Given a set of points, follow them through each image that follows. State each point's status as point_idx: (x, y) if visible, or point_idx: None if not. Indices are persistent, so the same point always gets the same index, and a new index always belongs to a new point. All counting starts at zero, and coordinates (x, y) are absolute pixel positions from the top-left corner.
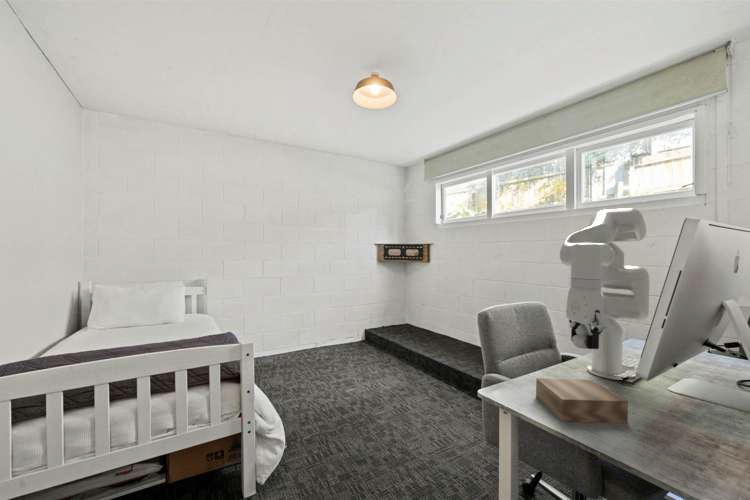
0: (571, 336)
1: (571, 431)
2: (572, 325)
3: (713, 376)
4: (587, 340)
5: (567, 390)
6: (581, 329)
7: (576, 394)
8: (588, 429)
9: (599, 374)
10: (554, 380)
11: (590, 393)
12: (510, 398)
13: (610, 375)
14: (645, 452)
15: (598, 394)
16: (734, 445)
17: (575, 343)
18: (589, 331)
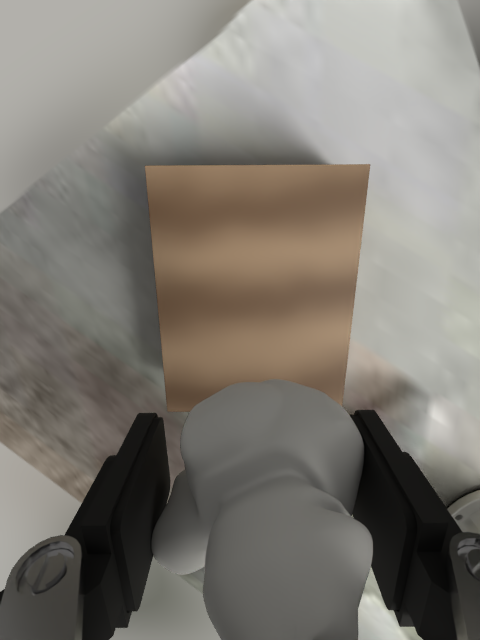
0: (387, 437)
1: (106, 170)
2: (471, 585)
3: None
4: (115, 465)
5: (236, 245)
6: (229, 575)
7: (200, 261)
8: (128, 237)
9: (474, 498)
10: (341, 247)
11: (215, 324)
12: (333, 38)
13: (457, 522)
14: (41, 318)
15: (209, 348)
16: None
17: (254, 383)
18: (34, 596)
